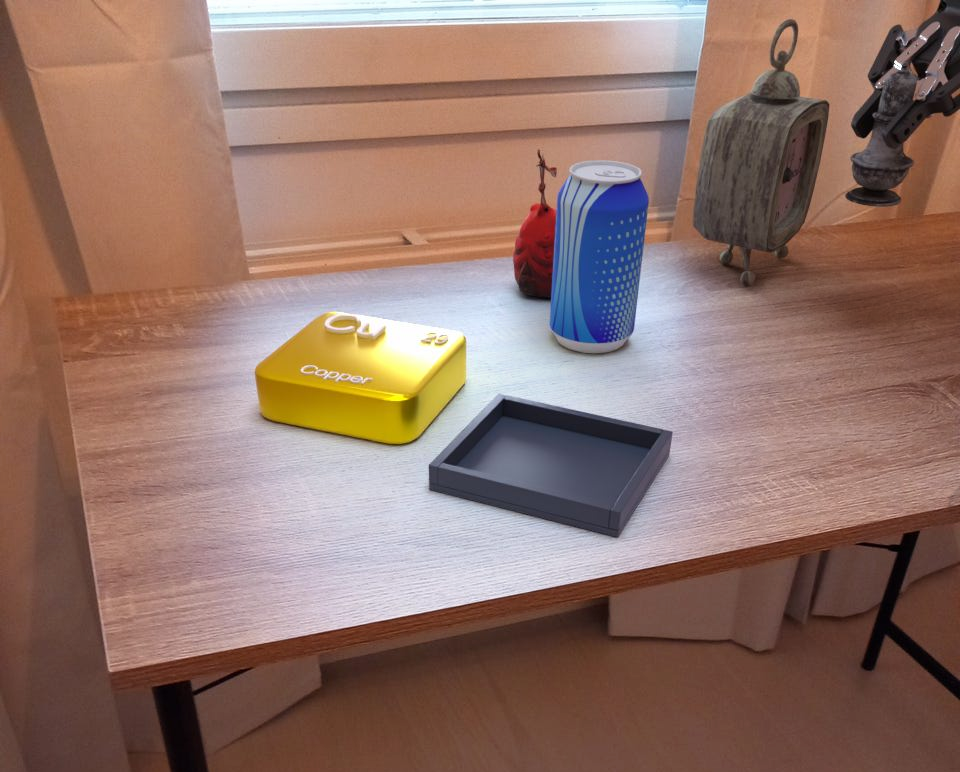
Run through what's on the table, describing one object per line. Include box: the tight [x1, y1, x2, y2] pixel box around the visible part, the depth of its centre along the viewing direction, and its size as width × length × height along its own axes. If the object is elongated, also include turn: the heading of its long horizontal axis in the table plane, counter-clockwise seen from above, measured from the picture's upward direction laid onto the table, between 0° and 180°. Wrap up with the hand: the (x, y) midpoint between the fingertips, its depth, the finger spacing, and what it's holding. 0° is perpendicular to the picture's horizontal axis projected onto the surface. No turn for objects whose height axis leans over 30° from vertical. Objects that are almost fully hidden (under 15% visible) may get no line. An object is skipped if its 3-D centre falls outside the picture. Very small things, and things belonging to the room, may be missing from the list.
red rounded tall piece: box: [512, 149, 558, 299], centre depth 108 cm, size 8×7×15 cm
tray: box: [428, 393, 674, 538], centre depth 82 cm, size 16×14×2 cm
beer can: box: [549, 159, 650, 354], centre depth 97 cm, size 8×8×16 cm
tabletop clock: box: [692, 18, 830, 287], centre depth 111 cm, size 14×9×25 cm, turn 147°
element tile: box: [254, 311, 467, 445], centre depth 91 cm, size 15×15×5 cm
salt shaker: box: [845, 60, 917, 208], centre depth 96 cm, size 6×6×12 cm
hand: (872, 136), depth 96 cm, fingers closed on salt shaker, 3 cm apart
